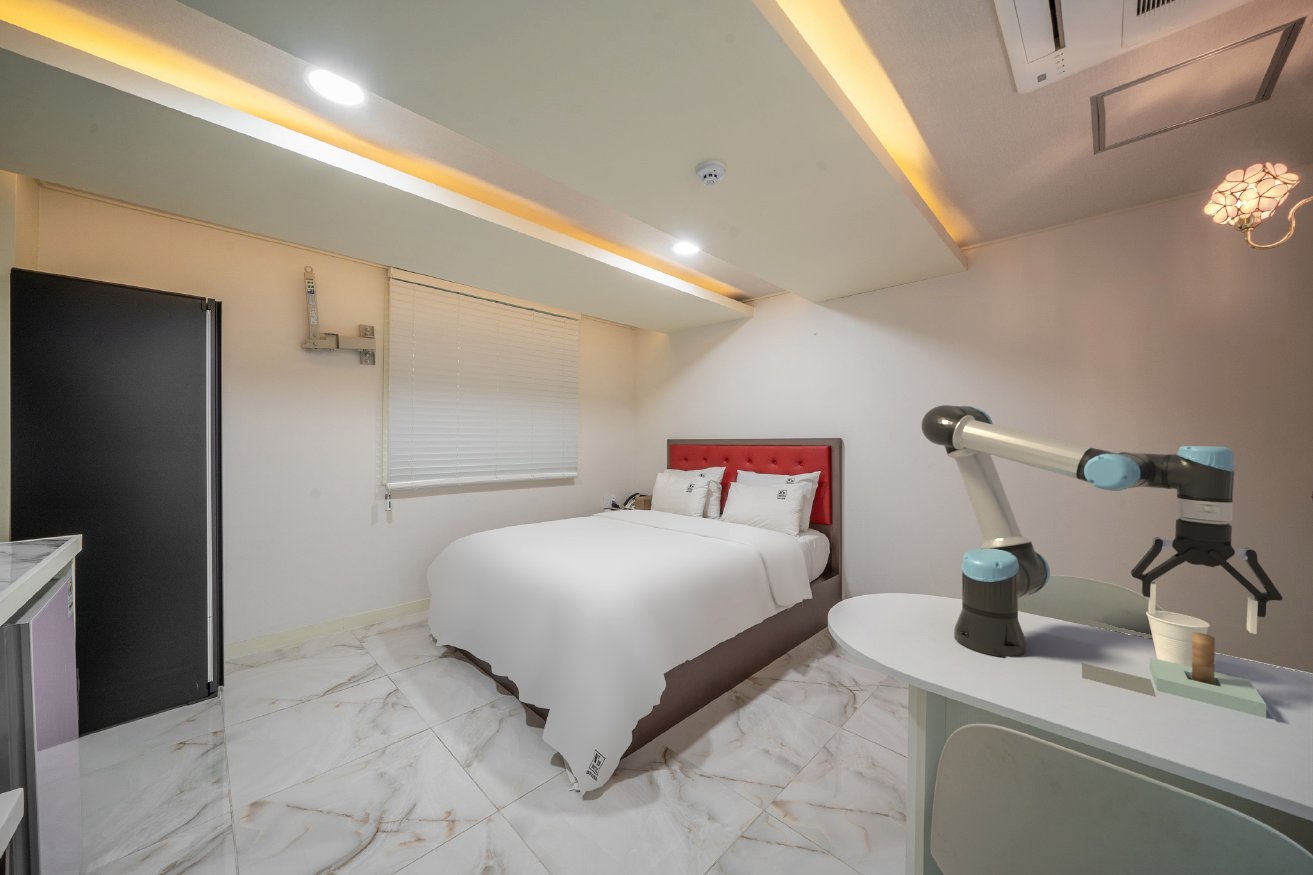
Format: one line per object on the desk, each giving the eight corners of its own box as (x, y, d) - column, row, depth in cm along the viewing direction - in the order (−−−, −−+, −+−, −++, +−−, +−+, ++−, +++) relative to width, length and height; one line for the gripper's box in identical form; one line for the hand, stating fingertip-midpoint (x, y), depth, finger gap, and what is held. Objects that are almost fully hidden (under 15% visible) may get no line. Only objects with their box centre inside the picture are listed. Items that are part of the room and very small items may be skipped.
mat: (1082, 679, 101) (1082, 677, 101) (1081, 664, 108) (1081, 662, 108) (1155, 698, 94) (1155, 696, 94) (1150, 681, 101) (1150, 679, 101)
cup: (1224, 678, 102) (1224, 628, 102) (1170, 673, 104) (1170, 624, 104) (1182, 657, 112) (1183, 611, 112) (1134, 653, 114) (1134, 608, 114)
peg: (1193, 693, 96) (1193, 635, 96) (1190, 687, 98) (1190, 631, 98) (1215, 699, 94) (1216, 640, 94) (1212, 693, 96) (1212, 635, 96)
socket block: (1157, 692, 96) (1157, 677, 96) (1149, 670, 105) (1149, 657, 105) (1266, 719, 87) (1266, 704, 87) (1248, 693, 96) (1248, 679, 96)
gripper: (1119, 514, 102) (1116, 610, 102) (1311, 532, 85) (1306, 647, 85) (1117, 510, 107) (1114, 600, 108) (1296, 526, 90) (1292, 634, 91)
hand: (1199, 621), depth 96 cm, fingers open, 13 cm apart
